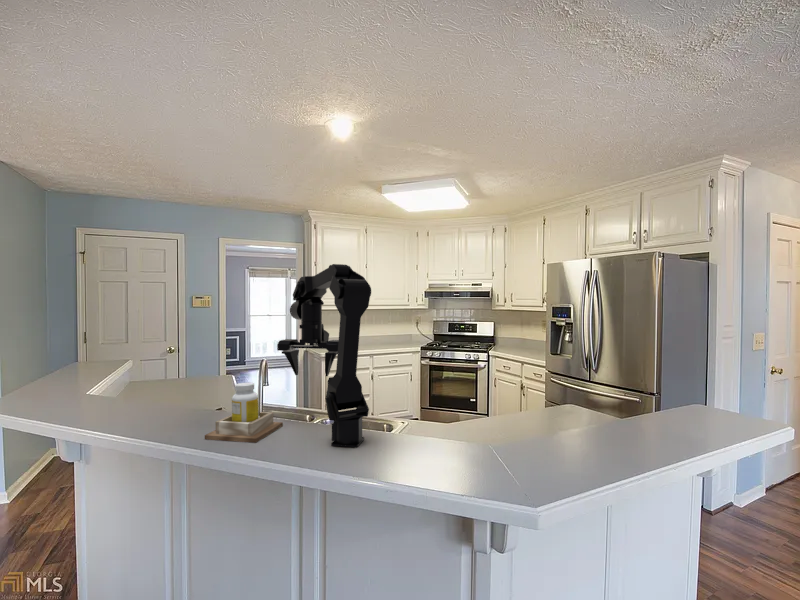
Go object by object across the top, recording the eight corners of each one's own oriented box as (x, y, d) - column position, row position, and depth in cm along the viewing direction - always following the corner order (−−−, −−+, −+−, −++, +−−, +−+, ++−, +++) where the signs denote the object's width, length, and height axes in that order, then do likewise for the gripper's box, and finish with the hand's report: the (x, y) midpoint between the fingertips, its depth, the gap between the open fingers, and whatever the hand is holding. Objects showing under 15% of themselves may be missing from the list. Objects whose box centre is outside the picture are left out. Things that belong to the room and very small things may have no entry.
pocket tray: (282, 426, 117) (282, 411, 117) (256, 442, 104) (256, 426, 104) (236, 423, 120) (236, 409, 120) (204, 439, 106) (204, 423, 106)
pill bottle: (262, 425, 115) (262, 381, 115) (251, 432, 108) (251, 386, 108) (239, 424, 115) (239, 381, 115) (227, 431, 109) (226, 386, 109)
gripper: (351, 319, 128) (351, 371, 128) (293, 319, 132) (293, 370, 132) (339, 321, 117) (339, 378, 117) (276, 321, 121) (276, 376, 121)
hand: (311, 375), depth 122 cm, fingers open, 9 cm apart
